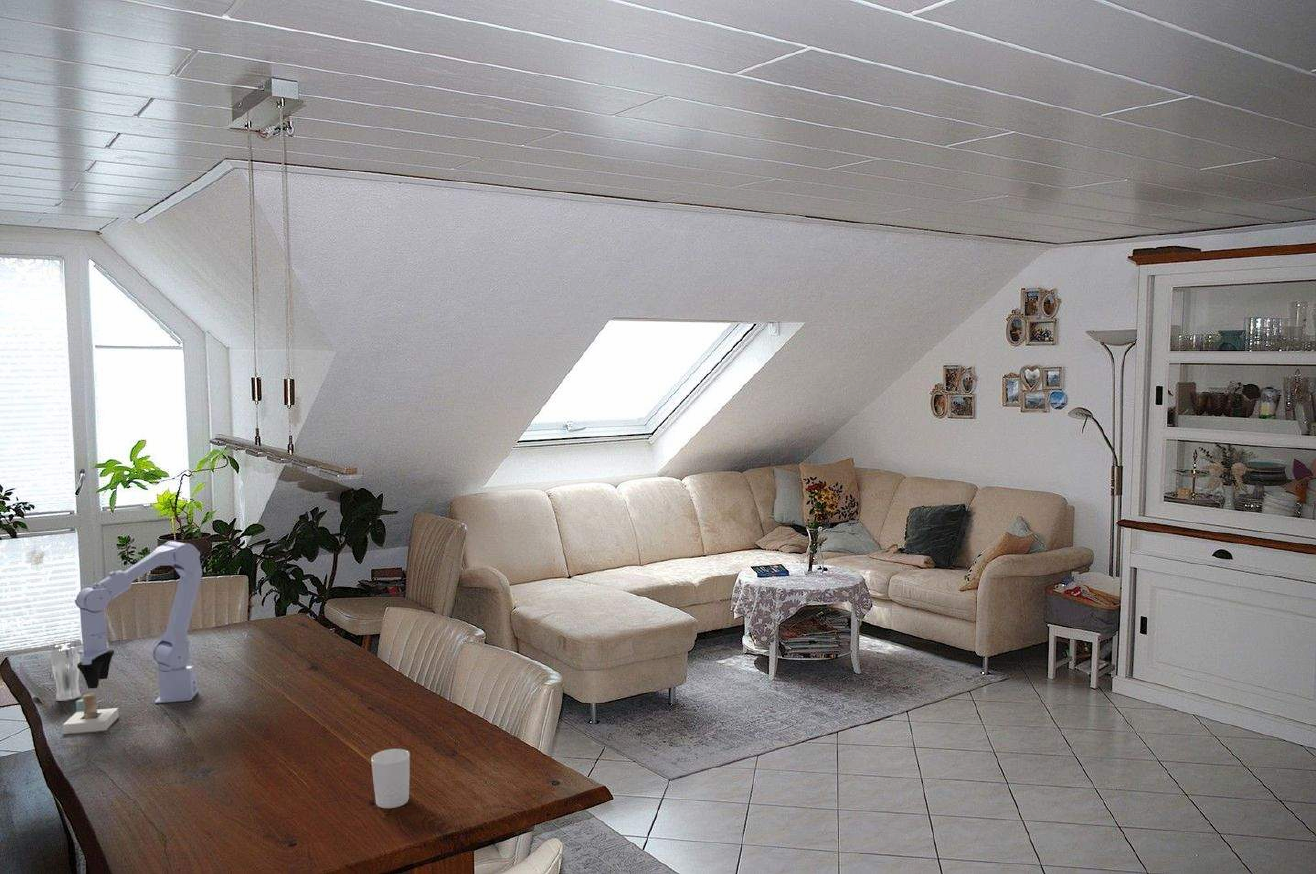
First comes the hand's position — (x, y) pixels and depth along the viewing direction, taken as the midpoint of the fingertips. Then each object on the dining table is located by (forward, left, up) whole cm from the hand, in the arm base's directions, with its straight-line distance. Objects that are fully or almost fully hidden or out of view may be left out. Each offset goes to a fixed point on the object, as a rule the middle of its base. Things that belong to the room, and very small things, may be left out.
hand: (98, 683), depth 264 cm
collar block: (+1, +5, -10) cm, 11 cm away
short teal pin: (+5, -3, -10) cm, 11 cm away
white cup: (-80, +71, -10) cm, 107 cm away
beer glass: (+15, -21, -10) cm, 28 cm away
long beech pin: (+1, +5, -10) cm, 11 cm away
